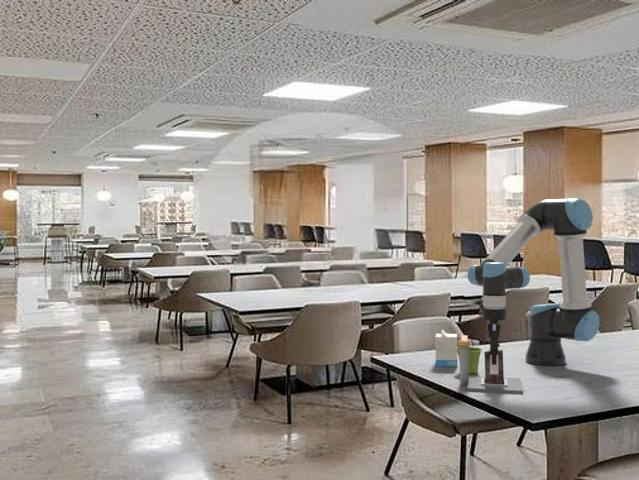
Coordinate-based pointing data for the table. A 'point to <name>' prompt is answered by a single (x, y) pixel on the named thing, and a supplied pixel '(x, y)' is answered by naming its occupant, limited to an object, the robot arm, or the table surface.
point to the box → (500, 376)
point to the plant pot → (472, 358)
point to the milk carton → (446, 349)
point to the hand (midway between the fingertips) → (493, 369)
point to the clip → (464, 341)
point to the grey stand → (479, 382)
